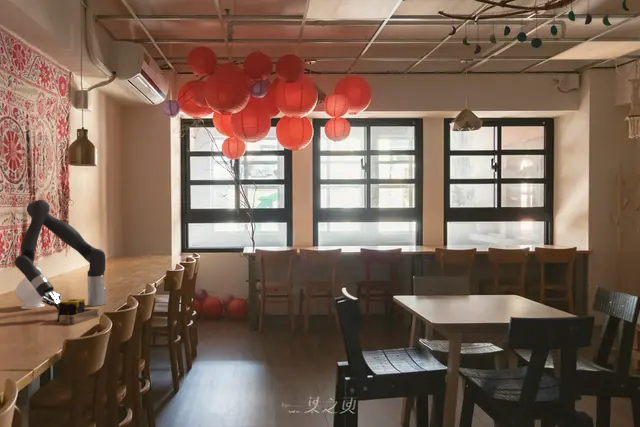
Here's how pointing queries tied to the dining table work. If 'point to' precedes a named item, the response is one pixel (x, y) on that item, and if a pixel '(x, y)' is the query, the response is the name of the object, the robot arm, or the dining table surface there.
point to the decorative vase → (29, 294)
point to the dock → (79, 316)
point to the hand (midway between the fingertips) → (61, 309)
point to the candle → (71, 307)
